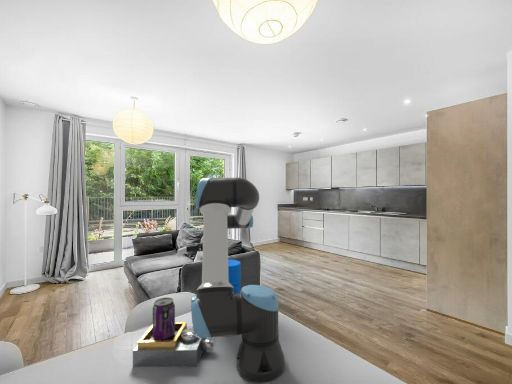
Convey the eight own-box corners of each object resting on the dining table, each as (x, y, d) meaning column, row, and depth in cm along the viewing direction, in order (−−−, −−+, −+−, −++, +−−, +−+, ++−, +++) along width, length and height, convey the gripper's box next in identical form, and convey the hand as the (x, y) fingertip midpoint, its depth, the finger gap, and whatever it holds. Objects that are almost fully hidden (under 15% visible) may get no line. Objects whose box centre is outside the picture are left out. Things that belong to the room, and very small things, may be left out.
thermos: (227, 314, 107) (227, 258, 108) (245, 322, 101) (246, 262, 101) (208, 324, 99) (209, 263, 99) (227, 333, 92) (228, 268, 93)
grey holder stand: (217, 339, 89) (217, 320, 89) (209, 366, 75) (209, 343, 75) (152, 340, 89) (152, 321, 89) (132, 366, 75) (132, 344, 75)
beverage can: (171, 342, 79) (171, 305, 79) (149, 343, 78) (149, 306, 79) (177, 330, 86) (177, 296, 86) (157, 331, 85) (156, 297, 86)
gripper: (236, 252, 117) (223, 263, 96) (189, 251, 121) (165, 261, 101) (236, 236, 117) (222, 245, 96) (188, 236, 122) (165, 243, 101)
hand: (193, 253), depth 98 cm, fingers open, 13 cm apart
